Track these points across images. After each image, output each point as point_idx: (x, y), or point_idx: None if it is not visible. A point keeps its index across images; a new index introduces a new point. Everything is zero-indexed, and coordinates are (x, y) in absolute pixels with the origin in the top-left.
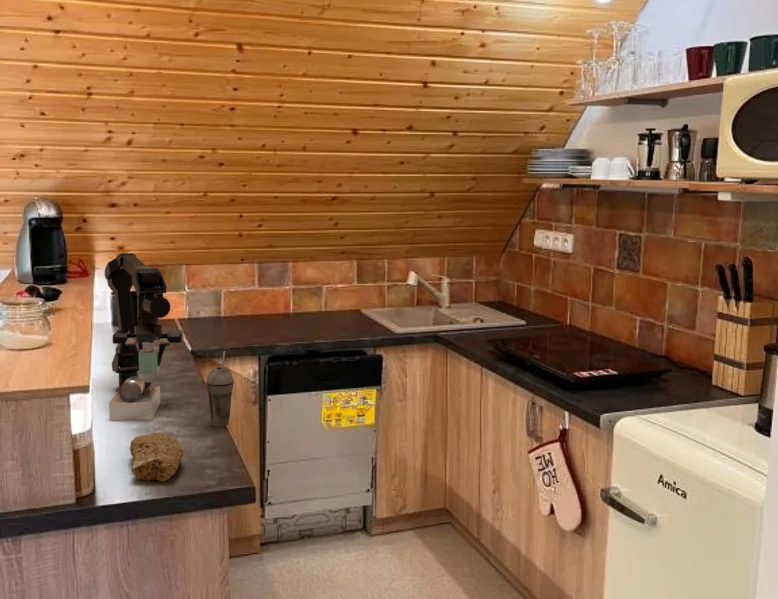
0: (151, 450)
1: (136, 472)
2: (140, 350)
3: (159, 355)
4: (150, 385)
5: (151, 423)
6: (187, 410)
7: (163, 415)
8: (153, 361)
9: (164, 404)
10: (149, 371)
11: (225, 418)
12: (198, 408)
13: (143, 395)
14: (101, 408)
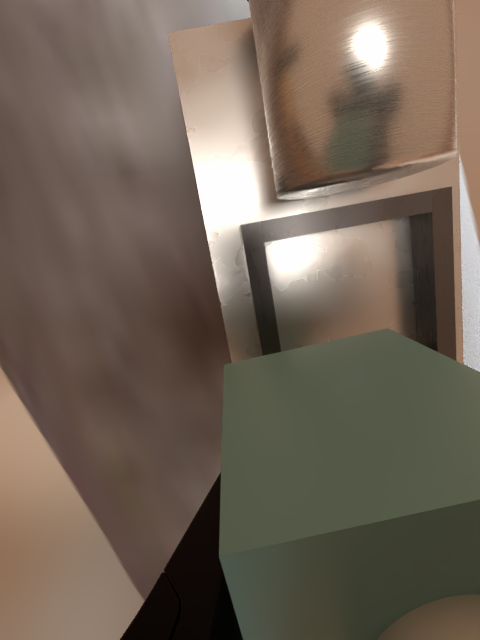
0: None
1: None
2: None
3: (208, 564)
4: (272, 327)
5: (165, 31)
6: (73, 280)
7: (156, 184)
8: (273, 419)
9: (213, 359)
10: (298, 355)
11: None
12: (35, 318)
13: (276, 202)
14: (473, 263)
